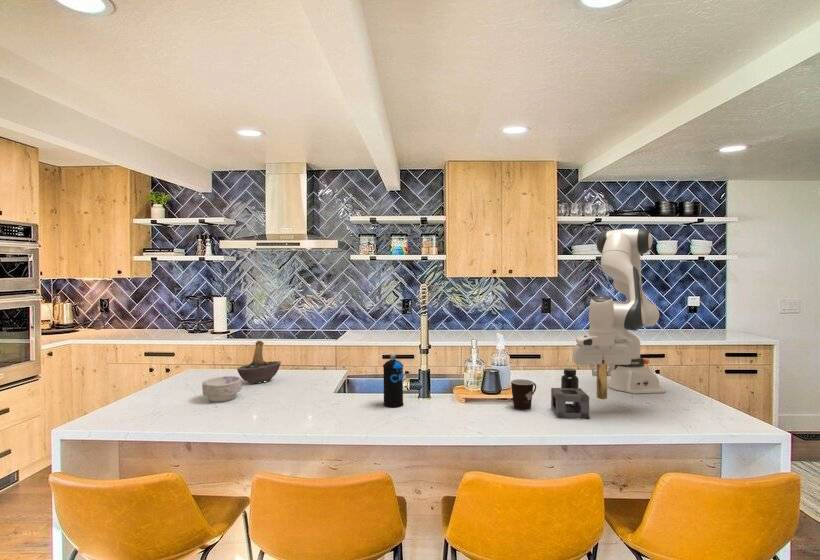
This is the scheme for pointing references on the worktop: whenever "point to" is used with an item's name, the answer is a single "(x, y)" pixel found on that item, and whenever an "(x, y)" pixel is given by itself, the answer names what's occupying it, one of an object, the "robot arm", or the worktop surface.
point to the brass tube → (602, 380)
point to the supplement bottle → (569, 379)
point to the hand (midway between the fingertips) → (601, 376)
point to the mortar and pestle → (259, 367)
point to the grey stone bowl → (221, 388)
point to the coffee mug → (522, 393)
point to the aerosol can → (393, 383)
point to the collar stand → (570, 410)
